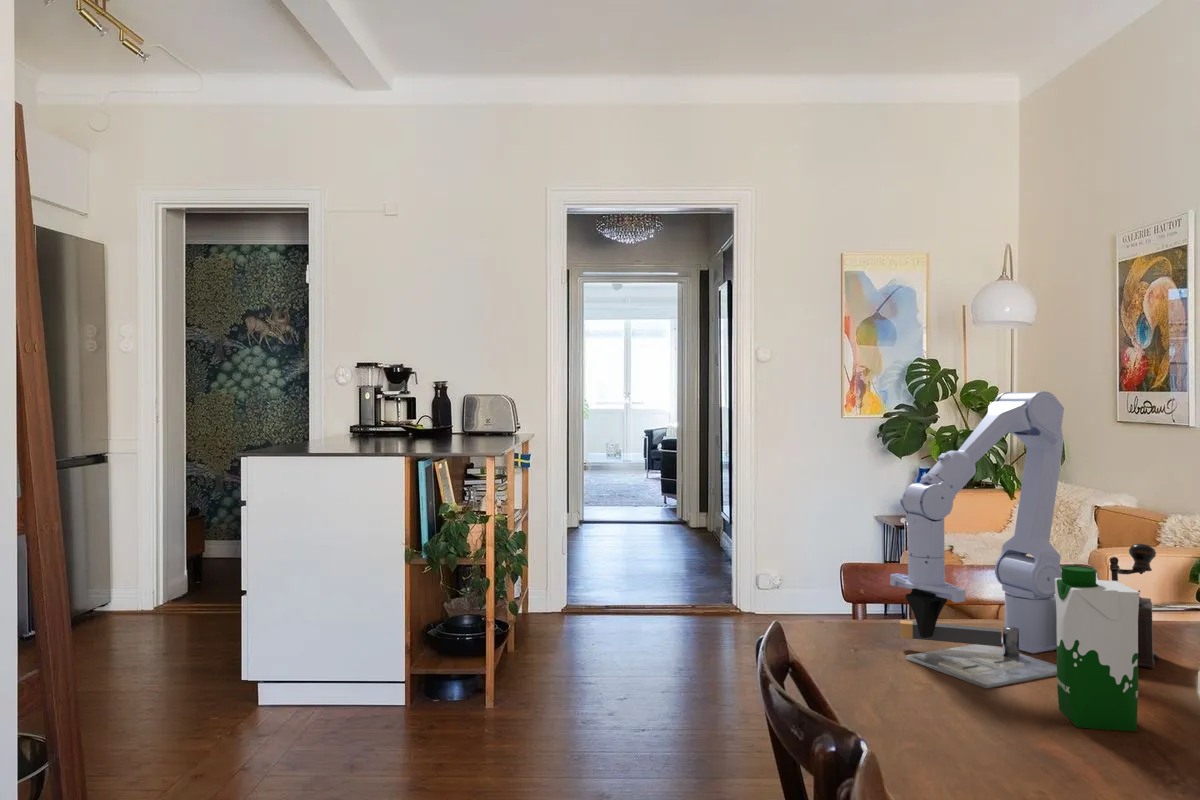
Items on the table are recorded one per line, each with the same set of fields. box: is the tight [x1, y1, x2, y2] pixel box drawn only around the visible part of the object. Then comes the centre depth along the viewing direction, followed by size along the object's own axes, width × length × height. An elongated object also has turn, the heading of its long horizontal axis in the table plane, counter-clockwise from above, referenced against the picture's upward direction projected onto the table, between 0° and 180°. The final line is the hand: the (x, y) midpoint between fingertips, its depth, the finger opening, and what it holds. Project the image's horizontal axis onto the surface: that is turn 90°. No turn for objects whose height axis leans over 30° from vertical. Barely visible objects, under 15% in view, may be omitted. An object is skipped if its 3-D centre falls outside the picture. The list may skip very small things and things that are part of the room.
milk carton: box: [1055, 565, 1141, 732], centre depth 112 cm, size 9×9×20 cm
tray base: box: [905, 625, 1057, 689], centre depth 135 cm, size 18×16×5 cm
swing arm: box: [899, 619, 1003, 648], centre depth 142 cm, size 16×2×2 cm, turn 69°
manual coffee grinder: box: [1109, 543, 1159, 670], centre depth 142 cm, size 16×11×18 cm
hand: (926, 636), depth 141 cm, fingers closed
